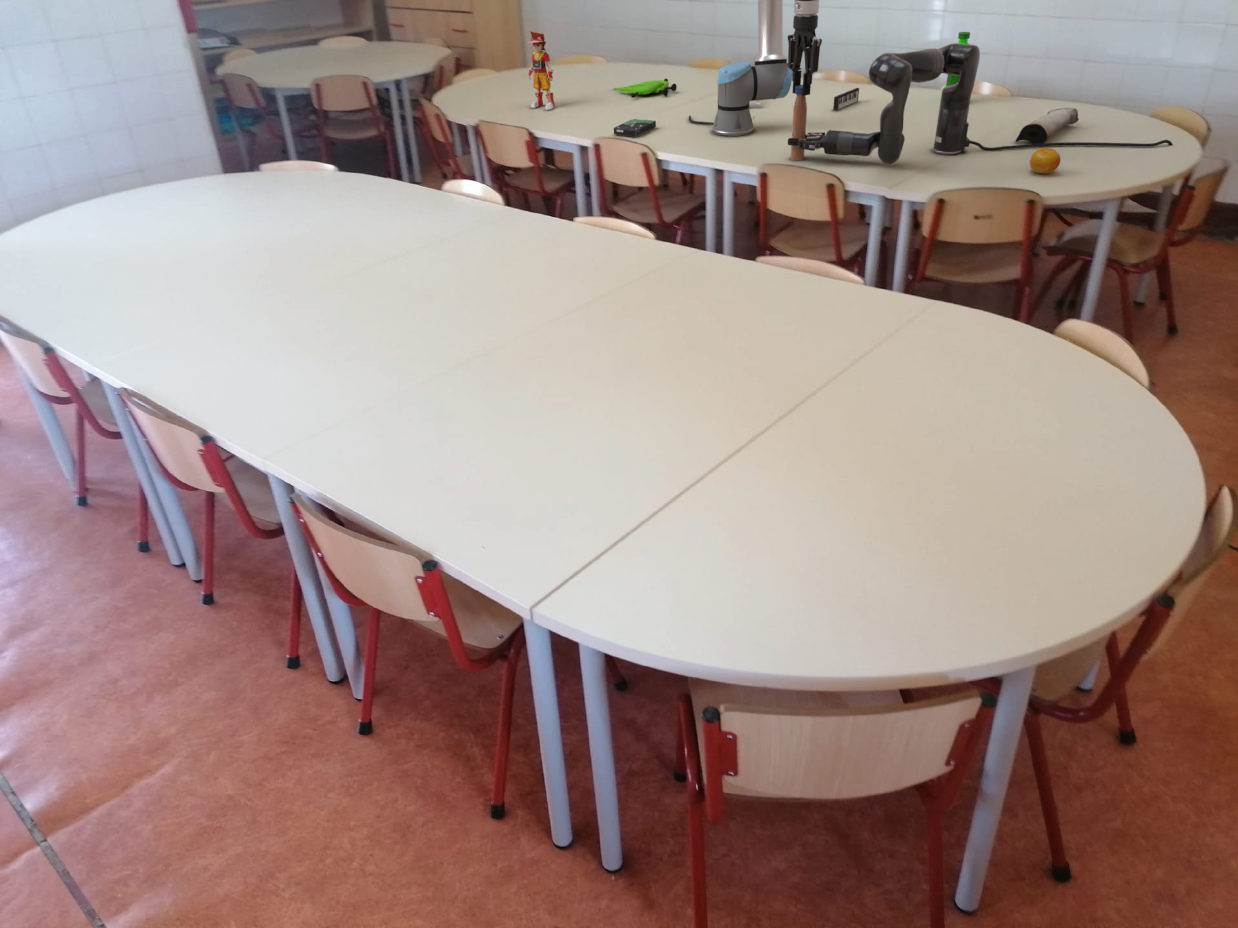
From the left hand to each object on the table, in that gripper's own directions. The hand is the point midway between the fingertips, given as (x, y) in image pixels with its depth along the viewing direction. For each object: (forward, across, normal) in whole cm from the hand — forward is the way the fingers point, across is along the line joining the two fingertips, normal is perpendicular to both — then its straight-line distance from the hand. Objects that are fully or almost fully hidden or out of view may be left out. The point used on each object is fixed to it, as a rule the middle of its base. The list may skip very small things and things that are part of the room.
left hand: (801, 93), depth 292 cm
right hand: (+15, -2, -1) cm, 15 cm away
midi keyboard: (+21, -40, +62) cm, 77 cm away
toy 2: (+21, -121, +17) cm, 124 cm away
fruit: (+21, +62, +45) cm, 80 cm away
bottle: (+21, 0, 0) cm, 21 cm away
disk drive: (+21, -68, -21) cm, 74 cm away
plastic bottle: (+21, -15, +95) cm, 99 cm away
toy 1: (+21, -128, -29) cm, 133 cm away
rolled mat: (+21, +37, +82) cm, 92 cm away
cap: (-2, 0, 0) cm, 2 cm away
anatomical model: (+21, -70, +35) cm, 82 cm away
